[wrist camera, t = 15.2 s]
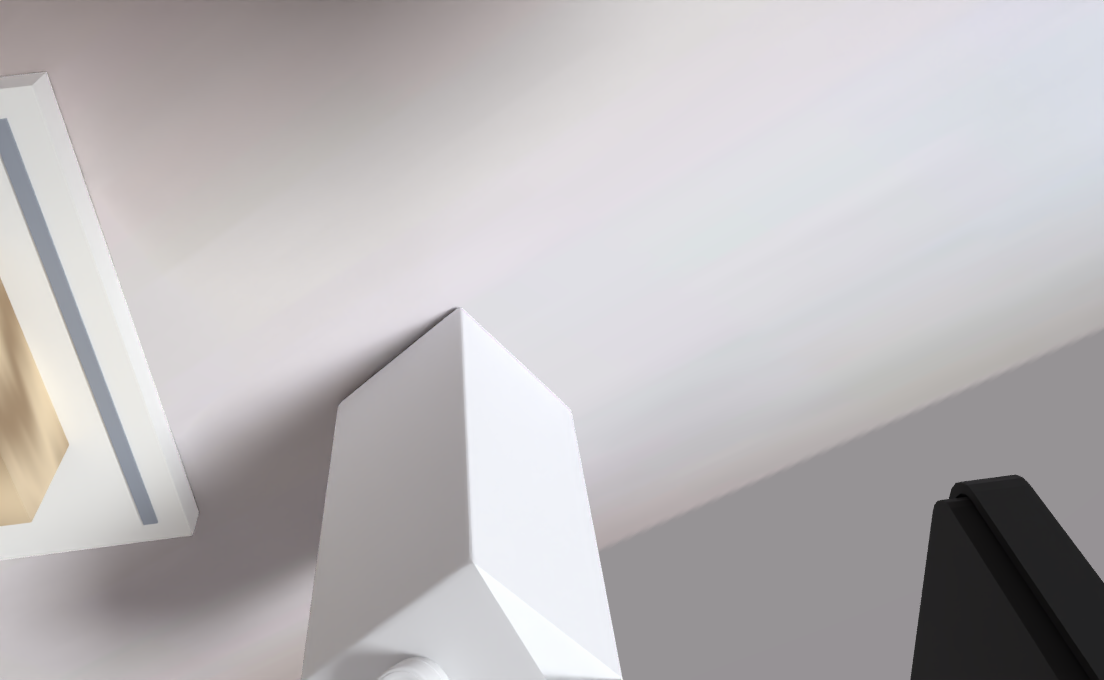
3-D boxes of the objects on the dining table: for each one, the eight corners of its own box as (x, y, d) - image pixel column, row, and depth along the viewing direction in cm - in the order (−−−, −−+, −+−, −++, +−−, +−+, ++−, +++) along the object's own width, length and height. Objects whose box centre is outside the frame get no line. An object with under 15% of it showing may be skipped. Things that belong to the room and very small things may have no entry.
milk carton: (572, 406, 46) (646, 793, 30) (451, 496, 48) (459, 904, 32) (460, 302, 43) (475, 671, 27) (336, 403, 45) (280, 804, 29)
